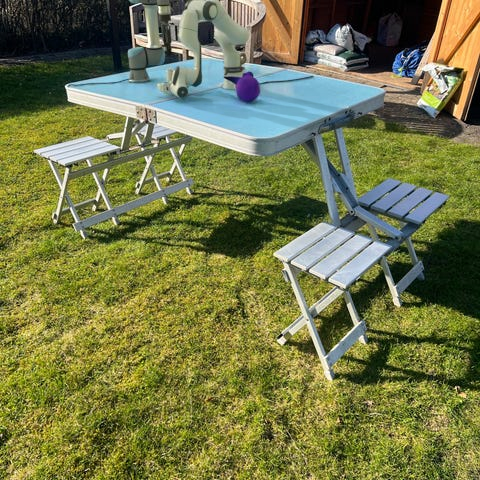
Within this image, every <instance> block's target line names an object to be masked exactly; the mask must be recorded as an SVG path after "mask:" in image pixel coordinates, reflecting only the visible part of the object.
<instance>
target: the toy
mask: <svg viewBox="0 0 480 480" xmlns="http://www.w3.org/2000/svg"><path fill="white" fill-rule="evenodd" d="M224 78H225V79H227V80H229V81H230V82H232V83H234V84H236V90H235V92H236V96H237V98H238V100H240V101H241V102H244V103H253V102H255V101H256V100H257V99H258V97H259V96H260V94H261V84H259V83H260V82H259V80H258V79H257V78H255V76H254V73H253V72H252V71H246V72H244V73H243V76H242V77H233V76H224V75H223V79H224Z"/></svg>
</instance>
